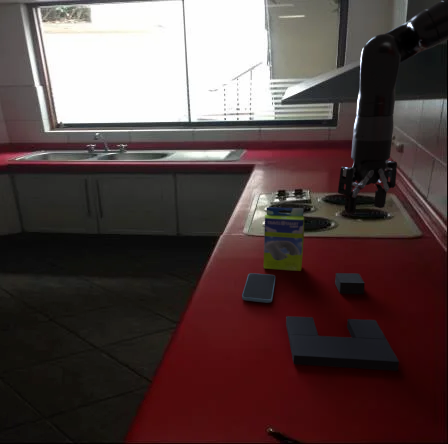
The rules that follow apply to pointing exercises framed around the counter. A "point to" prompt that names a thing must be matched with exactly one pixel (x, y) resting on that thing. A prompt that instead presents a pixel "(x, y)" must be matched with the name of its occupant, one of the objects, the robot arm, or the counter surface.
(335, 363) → the u-shaped block
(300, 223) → the box
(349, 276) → the dark grey square block
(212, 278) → the counter surface
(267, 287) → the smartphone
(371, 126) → the robot arm
